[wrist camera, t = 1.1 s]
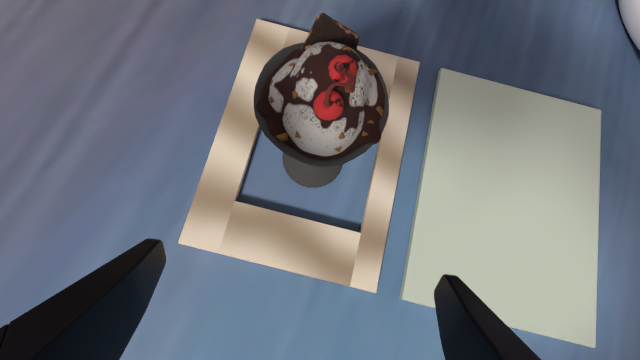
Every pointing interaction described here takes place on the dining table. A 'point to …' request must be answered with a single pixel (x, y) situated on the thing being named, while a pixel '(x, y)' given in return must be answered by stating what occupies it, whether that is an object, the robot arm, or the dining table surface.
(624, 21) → the white curved piece
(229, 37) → the dining table surface
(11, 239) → the dining table surface
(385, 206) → the wooden picture frame
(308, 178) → the sundae
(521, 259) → the stub pad
